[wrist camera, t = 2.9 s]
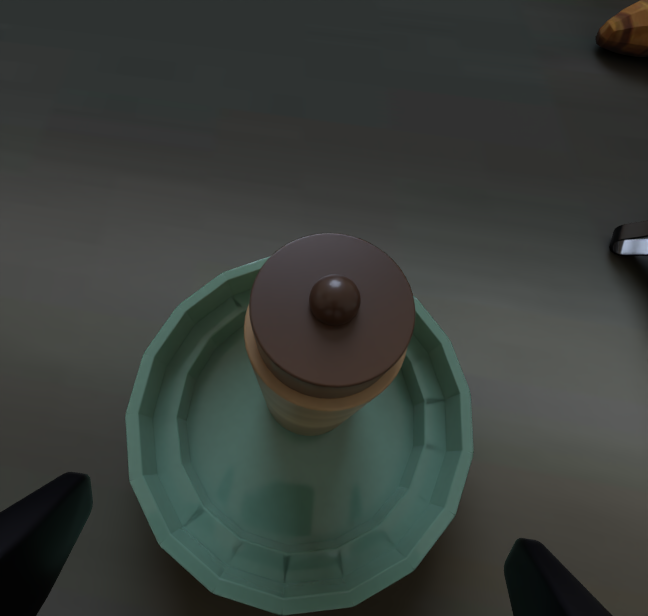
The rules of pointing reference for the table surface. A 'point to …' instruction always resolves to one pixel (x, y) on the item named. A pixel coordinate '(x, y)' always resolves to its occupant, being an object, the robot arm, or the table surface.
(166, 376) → the bowl
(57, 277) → the table surface
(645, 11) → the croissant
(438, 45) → the table surface
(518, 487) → the table surface
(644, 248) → the coffee press
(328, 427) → the pepper mill
